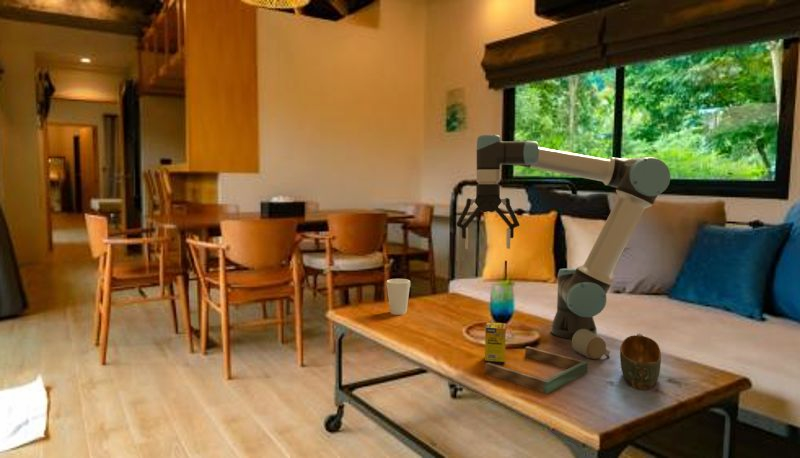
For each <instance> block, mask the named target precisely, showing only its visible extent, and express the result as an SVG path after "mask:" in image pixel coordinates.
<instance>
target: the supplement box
mask: <svg viewBox="0 0 800 458" xmlns="http://www.w3.org/2000/svg"><path fill="white" fill-rule="evenodd" d="M506 324H507V323H502V322H486V324H485V327H484V328H485V329H484V330H485V331H484V332H485V336H484V339H485V340H484V344H485V345H484V364H485V363H487V362H489V363H492V364H495V365H505V363H506V341H507V340H506V337H507V325H506Z"/></svg>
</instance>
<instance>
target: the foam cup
mask: <svg viewBox="0 0 800 458" xmlns="http://www.w3.org/2000/svg"><path fill="white" fill-rule="evenodd" d="M386 288H387V289H386V290H387V296H388V304H389V312H390V314H391V315H396V316H401V315H406V314H407V310H408V303H409V302H408V301H409V295H410V288H411V280H409V279H406V278H391V279H387V280H386Z"/></svg>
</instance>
